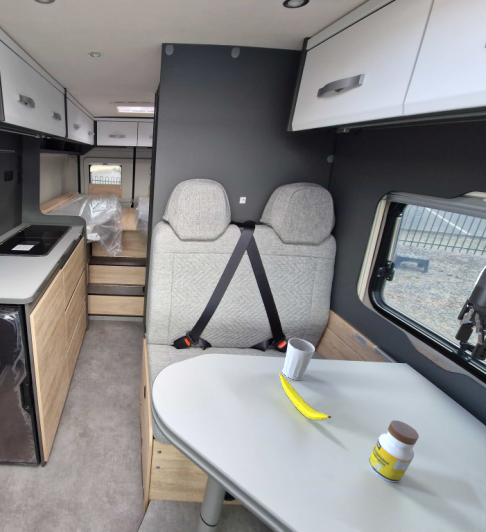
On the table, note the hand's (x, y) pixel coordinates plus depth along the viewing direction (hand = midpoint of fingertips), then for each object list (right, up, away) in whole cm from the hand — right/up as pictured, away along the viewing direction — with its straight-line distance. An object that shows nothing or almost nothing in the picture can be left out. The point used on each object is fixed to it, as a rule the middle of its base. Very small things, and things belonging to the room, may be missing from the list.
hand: (468, 349), depth 73 cm
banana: (-31, -23, +19) cm, 42 cm away
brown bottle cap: (-18, -19, -3) cm, 27 cm away
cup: (-25, -18, +33) cm, 45 cm away
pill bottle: (-19, -30, +2) cm, 36 cm away
